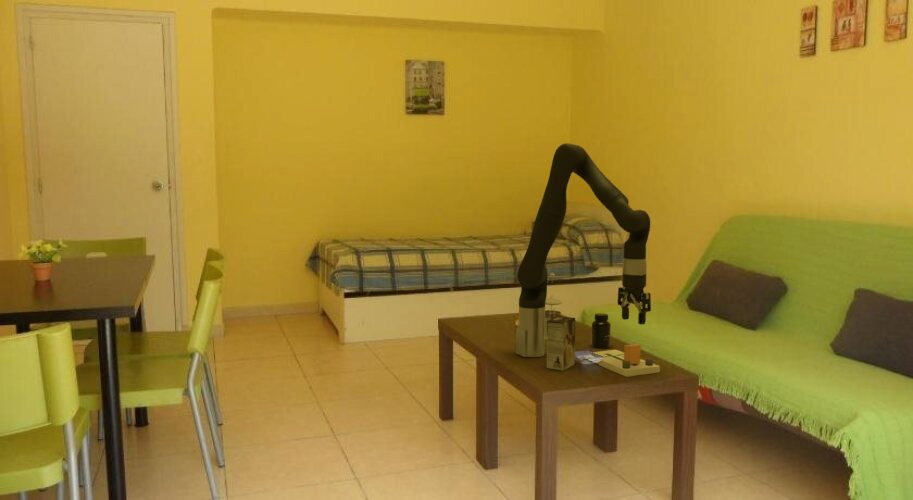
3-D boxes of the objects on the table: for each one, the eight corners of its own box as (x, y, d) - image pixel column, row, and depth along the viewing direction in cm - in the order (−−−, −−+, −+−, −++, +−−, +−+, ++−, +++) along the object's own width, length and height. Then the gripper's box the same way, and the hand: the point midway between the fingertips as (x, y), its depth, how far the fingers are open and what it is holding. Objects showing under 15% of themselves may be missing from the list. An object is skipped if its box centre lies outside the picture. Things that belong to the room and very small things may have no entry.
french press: (563, 334, 304) (564, 271, 301) (564, 341, 293) (565, 275, 290) (538, 333, 305) (539, 271, 302) (538, 340, 294) (539, 275, 291)
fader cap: (628, 364, 250) (629, 346, 249) (624, 363, 253) (624, 344, 252) (639, 363, 252) (640, 345, 251) (635, 361, 254) (635, 343, 254)
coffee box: (557, 362, 262) (558, 315, 260) (575, 364, 259) (576, 317, 257) (546, 368, 255) (546, 320, 253) (563, 371, 251) (564, 322, 249)
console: (626, 376, 244) (626, 364, 244) (584, 359, 266) (584, 347, 266) (659, 372, 250) (660, 360, 249) (615, 355, 271) (616, 344, 271)
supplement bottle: (610, 349, 280) (610, 316, 279) (590, 348, 282) (591, 315, 280) (610, 344, 287) (610, 312, 286) (591, 343, 288) (592, 312, 287)
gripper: (611, 270, 254) (610, 318, 256) (638, 275, 241) (637, 327, 243) (630, 268, 257) (629, 316, 259) (658, 274, 244) (657, 324, 246)
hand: (633, 321), depth 251 cm, fingers open, 8 cm apart
